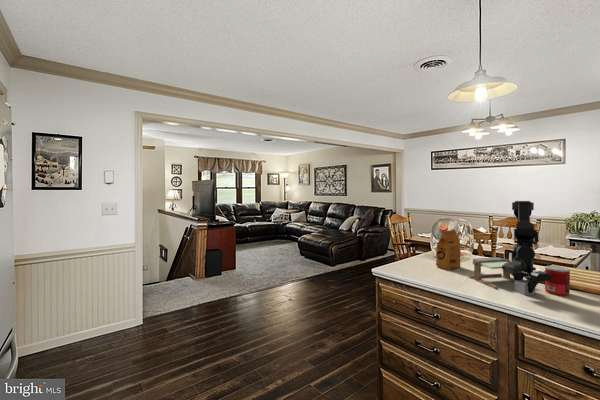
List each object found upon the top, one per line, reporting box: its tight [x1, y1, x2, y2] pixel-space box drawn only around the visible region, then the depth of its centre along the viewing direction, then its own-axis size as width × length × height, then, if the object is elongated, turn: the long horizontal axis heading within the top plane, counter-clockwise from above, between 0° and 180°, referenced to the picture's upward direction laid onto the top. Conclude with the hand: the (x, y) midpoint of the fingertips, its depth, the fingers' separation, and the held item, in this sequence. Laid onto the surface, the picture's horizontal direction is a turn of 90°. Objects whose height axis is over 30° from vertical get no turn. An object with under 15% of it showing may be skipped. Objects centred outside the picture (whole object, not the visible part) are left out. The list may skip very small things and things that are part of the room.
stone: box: [514, 279, 536, 296], centre depth 126 cm, size 5×5×5 cm
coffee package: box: [435, 228, 461, 271], centre depth 169 cm, size 10×12×22 cm
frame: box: [469, 258, 515, 290], centre depth 141 cm, size 17×18×10 cm
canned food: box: [544, 265, 571, 297], centre depth 125 cm, size 8×8×11 cm
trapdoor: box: [472, 256, 508, 270], centre depth 143 cm, size 12×14×3 cm
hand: (524, 290), depth 127 cm, fingers closed on stone, 5 cm apart
